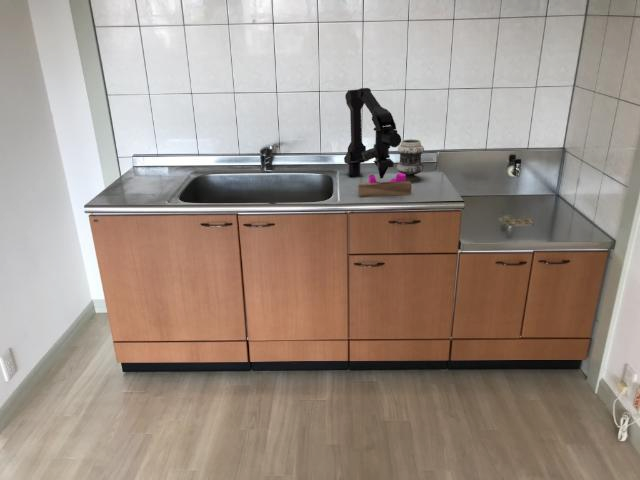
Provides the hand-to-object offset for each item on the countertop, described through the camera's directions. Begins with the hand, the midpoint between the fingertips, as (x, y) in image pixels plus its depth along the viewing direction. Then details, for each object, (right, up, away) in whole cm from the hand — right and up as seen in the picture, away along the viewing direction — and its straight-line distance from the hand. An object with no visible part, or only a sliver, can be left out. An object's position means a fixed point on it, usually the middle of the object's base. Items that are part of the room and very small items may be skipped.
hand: (381, 178), depth 220 cm
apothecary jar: (+15, +1, +15) cm, 21 cm away
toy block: (+2, -6, 0) cm, 6 cm away
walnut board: (+1, -8, -5) cm, 9 cm away
